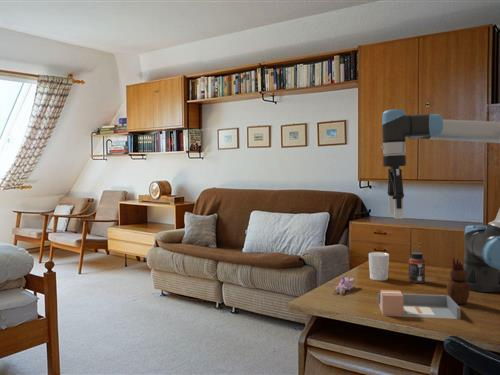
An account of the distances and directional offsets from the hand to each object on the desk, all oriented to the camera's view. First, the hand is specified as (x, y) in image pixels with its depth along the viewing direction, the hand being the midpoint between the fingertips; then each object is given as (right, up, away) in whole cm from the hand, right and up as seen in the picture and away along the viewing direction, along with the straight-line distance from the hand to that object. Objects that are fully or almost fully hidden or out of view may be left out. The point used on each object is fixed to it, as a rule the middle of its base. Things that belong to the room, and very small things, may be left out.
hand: (395, 216), depth 155 cm
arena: (+1, -29, -16) cm, 33 cm away
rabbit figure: (-16, -28, +8) cm, 33 cm away
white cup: (+1, -27, +24) cm, 36 cm away
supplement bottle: (+14, -27, +19) cm, 36 cm away
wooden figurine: (+18, -28, -8) cm, 34 cm away
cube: (-7, -29, -17) cm, 34 cm away
